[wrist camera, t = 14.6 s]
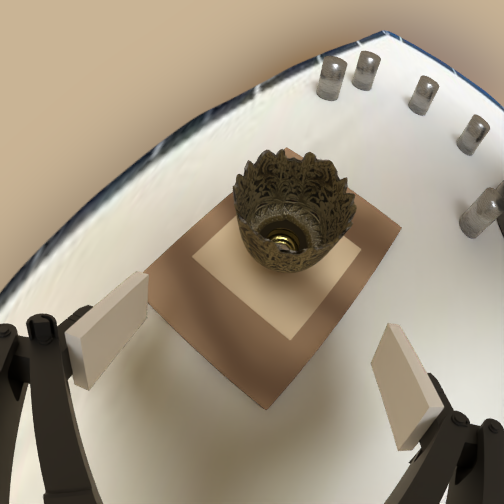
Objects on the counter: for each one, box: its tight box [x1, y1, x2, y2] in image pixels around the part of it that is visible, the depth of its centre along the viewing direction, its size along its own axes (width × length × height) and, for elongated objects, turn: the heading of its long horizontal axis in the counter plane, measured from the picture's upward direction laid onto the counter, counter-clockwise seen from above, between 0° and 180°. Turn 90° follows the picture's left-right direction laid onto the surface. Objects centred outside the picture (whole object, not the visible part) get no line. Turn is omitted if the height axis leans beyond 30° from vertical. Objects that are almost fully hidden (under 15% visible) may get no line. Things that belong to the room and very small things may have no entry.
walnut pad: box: [143, 148, 402, 410], centre depth 25 cm, size 20×14×1 cm
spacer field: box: [317, 51, 504, 238], centre depth 32 cm, size 22×29×6 cm
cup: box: [233, 149, 357, 273], centre depth 21 cm, size 8×7×8 cm
